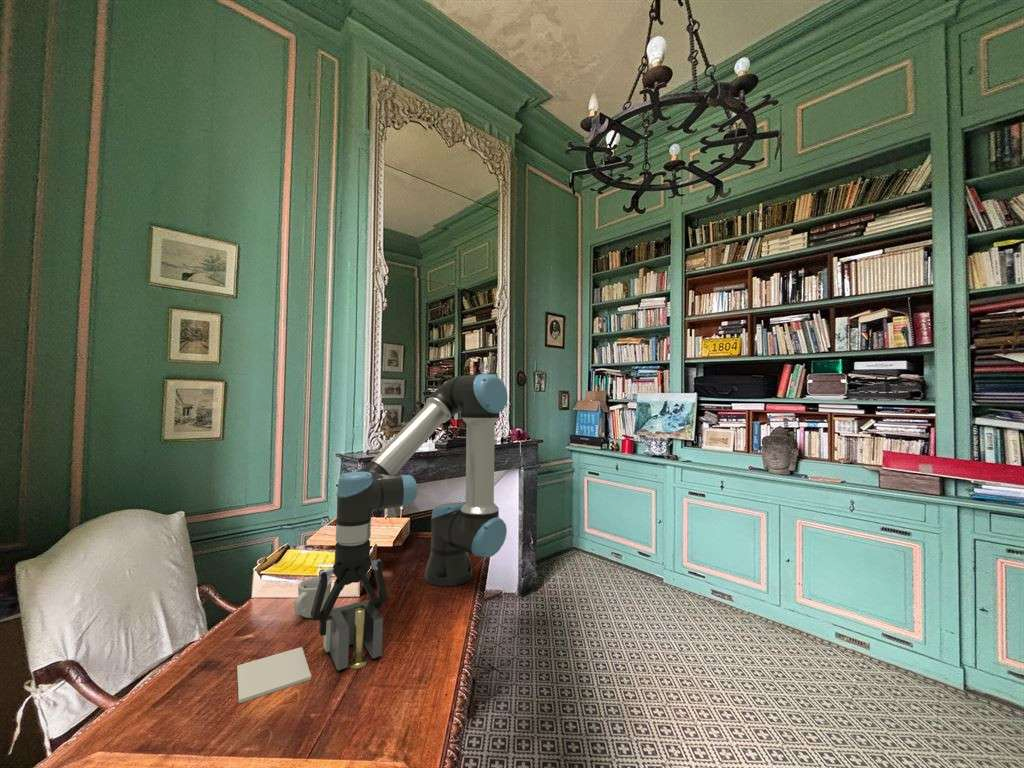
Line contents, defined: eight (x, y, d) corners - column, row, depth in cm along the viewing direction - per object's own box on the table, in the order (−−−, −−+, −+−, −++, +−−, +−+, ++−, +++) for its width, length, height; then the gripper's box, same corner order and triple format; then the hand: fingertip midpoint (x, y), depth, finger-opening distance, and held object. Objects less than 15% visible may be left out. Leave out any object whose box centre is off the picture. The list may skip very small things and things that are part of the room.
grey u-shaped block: (368, 634, 96) (369, 599, 97) (381, 655, 88) (383, 617, 89) (327, 646, 91) (328, 609, 92) (337, 670, 83) (339, 630, 83)
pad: (301, 649, 91) (302, 646, 91) (311, 679, 81) (311, 676, 81) (237, 668, 84) (237, 665, 84) (238, 703, 74) (238, 700, 74)
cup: (309, 629, 99) (310, 595, 100) (281, 625, 101) (282, 591, 102) (336, 608, 110) (338, 577, 111) (310, 604, 112) (312, 574, 112)
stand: (364, 656, 89) (366, 604, 90) (369, 665, 86) (370, 611, 87) (346, 662, 87) (349, 608, 87) (351, 671, 84) (353, 616, 85)
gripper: (393, 529, 104) (391, 620, 102) (297, 544, 91) (293, 649, 90) (404, 536, 97) (401, 634, 96) (303, 554, 85) (298, 667, 84)
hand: (349, 641), depth 93 cm, fingers closed on grey u-shaped block, 9 cm apart
